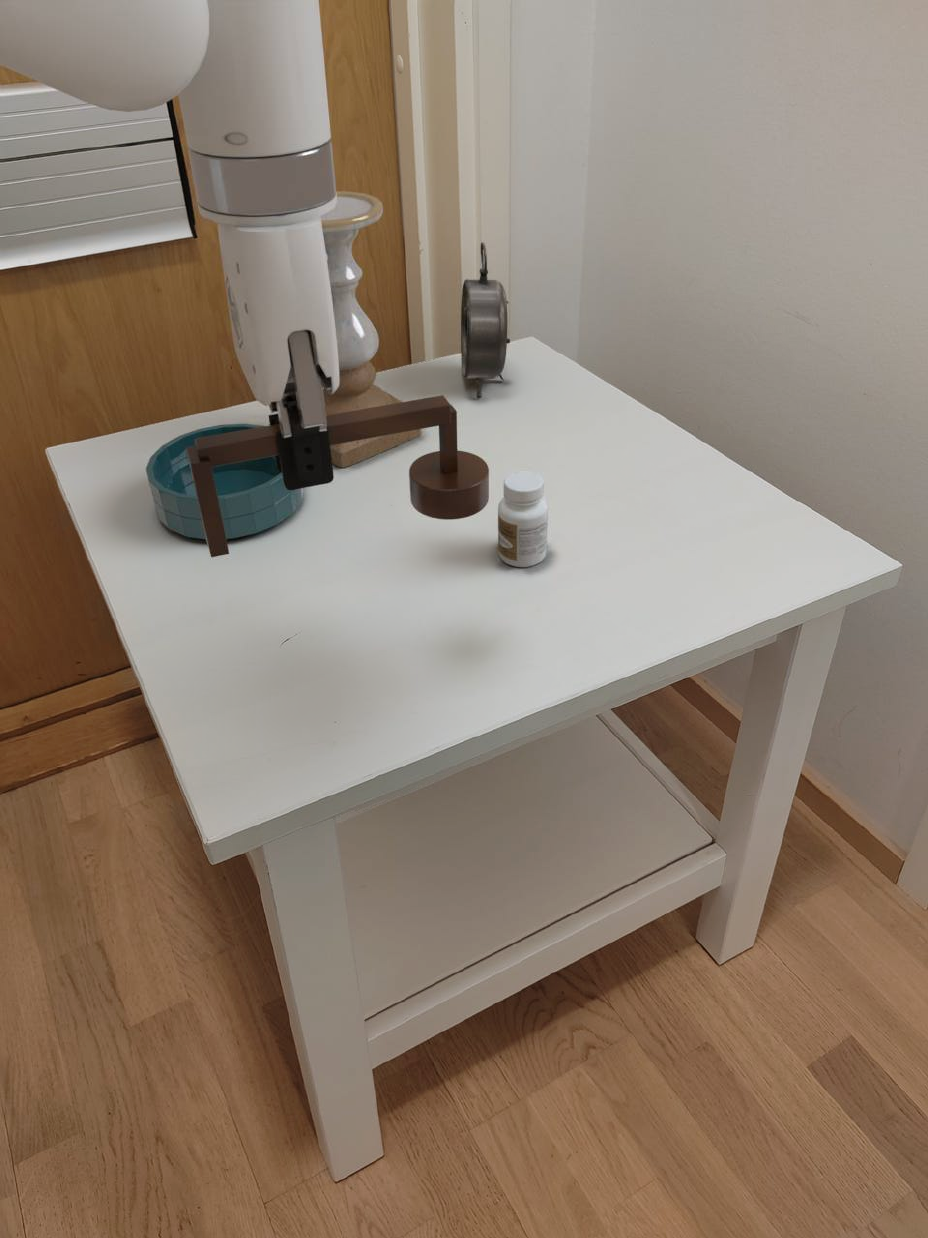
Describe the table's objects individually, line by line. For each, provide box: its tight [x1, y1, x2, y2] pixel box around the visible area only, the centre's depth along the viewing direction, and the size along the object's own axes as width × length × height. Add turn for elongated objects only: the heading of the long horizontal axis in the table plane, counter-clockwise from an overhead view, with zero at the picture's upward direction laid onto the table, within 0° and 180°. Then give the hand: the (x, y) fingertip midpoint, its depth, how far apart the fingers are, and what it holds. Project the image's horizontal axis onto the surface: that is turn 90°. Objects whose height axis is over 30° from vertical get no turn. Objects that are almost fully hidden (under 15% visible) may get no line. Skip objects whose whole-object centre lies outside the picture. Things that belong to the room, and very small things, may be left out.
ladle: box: [186, 394, 490, 558], centre depth 64 cm, size 20×6×8 cm, turn 110°
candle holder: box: [321, 190, 422, 469], centre depth 97 cm, size 11×11×24 cm
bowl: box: [145, 423, 305, 540], centre depth 93 cm, size 14×14×5 cm
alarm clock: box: [460, 241, 511, 399], centre depth 109 cm, size 11×5×16 cm, turn 3°
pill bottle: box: [497, 470, 549, 568], centre depth 84 cm, size 4×4×8 cm
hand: (305, 474), depth 63 cm, fingers closed on ladle
